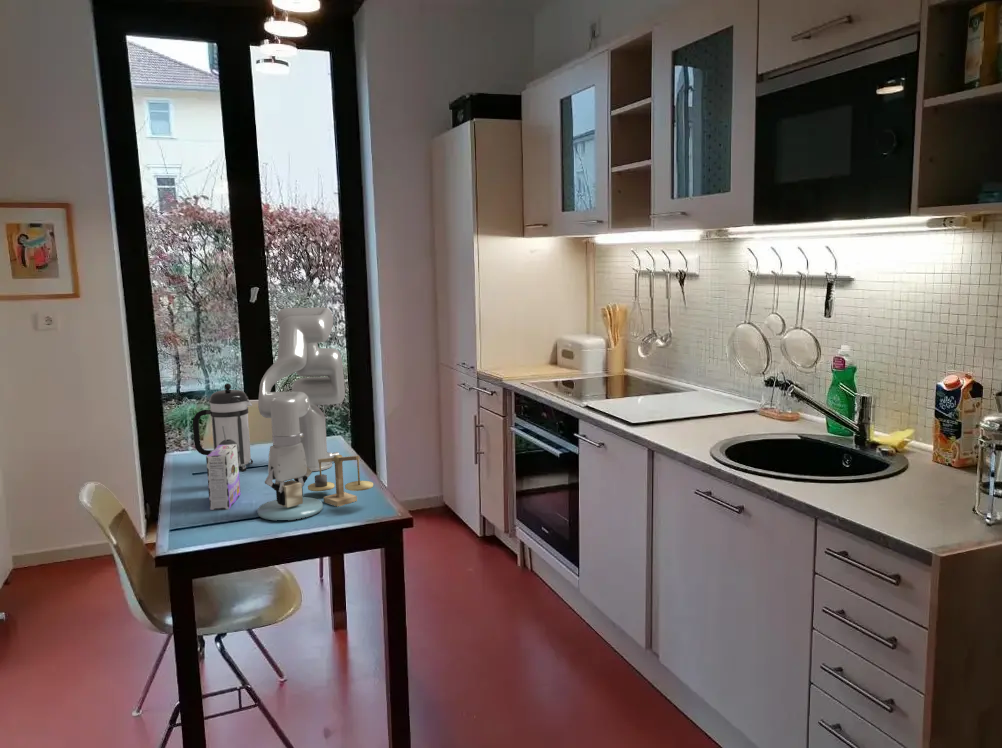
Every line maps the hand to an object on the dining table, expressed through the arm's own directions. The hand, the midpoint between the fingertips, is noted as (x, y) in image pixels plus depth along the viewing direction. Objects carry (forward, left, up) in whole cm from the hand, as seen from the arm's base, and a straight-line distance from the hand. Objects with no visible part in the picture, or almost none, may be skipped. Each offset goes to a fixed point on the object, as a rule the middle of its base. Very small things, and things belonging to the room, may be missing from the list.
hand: (290, 501), depth 223 cm
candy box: (+8, -23, -3) cm, 25 cm away
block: (0, 0, -1) cm, 1 cm away
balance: (-15, +3, -3) cm, 16 cm away
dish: (0, 0, -3) cm, 3 cm away
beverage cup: (-1, -37, -3) cm, 37 cm away
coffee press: (-12, -59, -3) cm, 60 cm away
